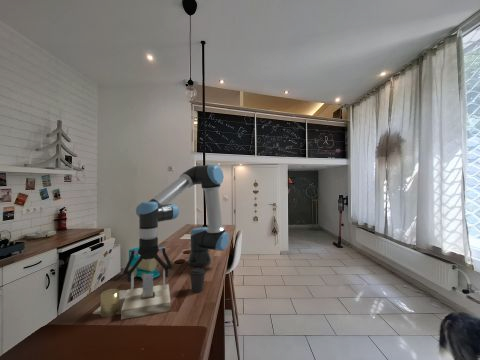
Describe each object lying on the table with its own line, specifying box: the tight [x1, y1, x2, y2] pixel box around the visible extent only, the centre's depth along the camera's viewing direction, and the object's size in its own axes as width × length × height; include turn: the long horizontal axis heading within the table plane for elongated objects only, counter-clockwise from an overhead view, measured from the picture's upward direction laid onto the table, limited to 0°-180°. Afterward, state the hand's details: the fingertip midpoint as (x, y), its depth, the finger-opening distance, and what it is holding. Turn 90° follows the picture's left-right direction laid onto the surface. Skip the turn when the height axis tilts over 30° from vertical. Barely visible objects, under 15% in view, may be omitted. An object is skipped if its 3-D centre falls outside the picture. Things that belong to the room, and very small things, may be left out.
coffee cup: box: [188, 267, 207, 294], centre depth 109 cm, size 8×8×10 cm
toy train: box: [128, 246, 161, 280], centre depth 126 cm, size 8×17×15 cm, turn 70°
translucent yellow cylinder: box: [99, 288, 120, 318], centre depth 90 cm, size 6×6×8 cm
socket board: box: [120, 283, 171, 321], centre depth 97 cm, size 18×18×4 cm
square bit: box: [142, 274, 154, 299], centre depth 97 cm, size 4×4×12 cm
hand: (148, 286), depth 97 cm, fingers open, 12 cm apart
